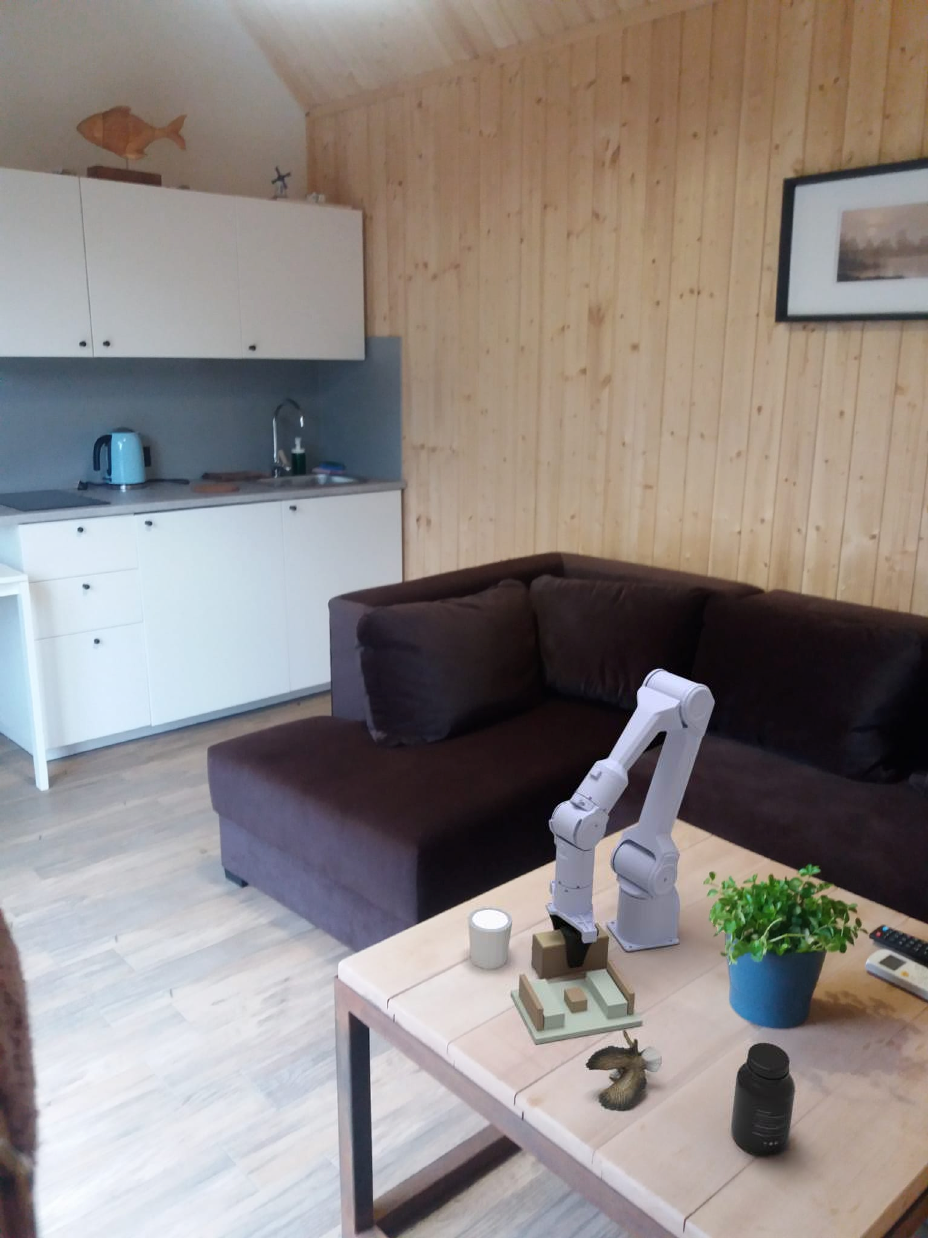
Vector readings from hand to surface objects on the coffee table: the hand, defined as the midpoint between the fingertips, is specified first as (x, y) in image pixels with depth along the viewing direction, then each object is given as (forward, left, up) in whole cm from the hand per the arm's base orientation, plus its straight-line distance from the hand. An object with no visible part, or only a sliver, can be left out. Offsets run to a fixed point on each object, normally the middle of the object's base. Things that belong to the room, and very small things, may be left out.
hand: (569, 957), depth 155 cm
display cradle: (+3, +10, -2) cm, 11 cm away
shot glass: (+11, -5, -2) cm, 13 cm away
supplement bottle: (-10, +38, -2) cm, 39 cm away
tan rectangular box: (0, 0, -2) cm, 2 cm away
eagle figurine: (+3, +26, -2) cm, 26 cm away
